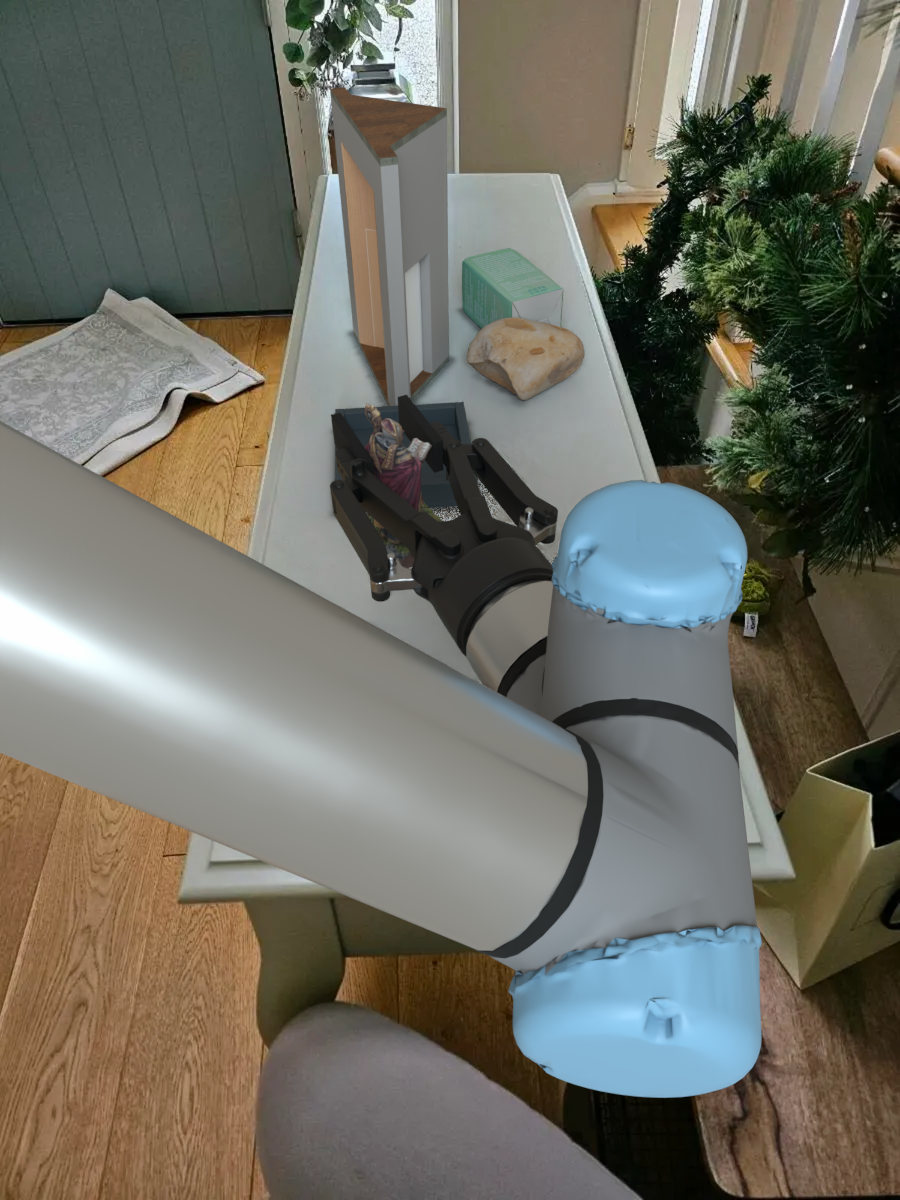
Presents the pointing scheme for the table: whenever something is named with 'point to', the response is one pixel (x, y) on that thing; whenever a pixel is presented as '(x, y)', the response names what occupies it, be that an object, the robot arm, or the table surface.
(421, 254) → the cabinet
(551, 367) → the stone
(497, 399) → the table surface
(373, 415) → the figurine
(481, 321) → the box
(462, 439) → the dark grey square tray
